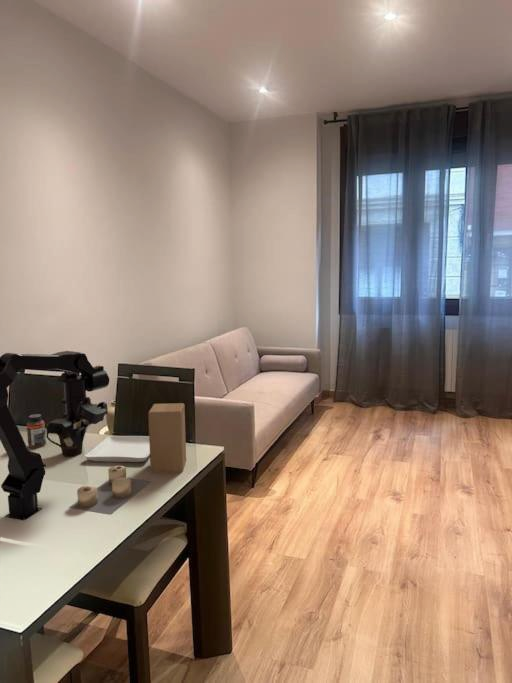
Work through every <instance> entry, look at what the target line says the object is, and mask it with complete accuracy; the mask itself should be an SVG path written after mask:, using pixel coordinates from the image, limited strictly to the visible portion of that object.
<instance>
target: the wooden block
mask: <svg viewBox="0 0 512 683" xmlns="http://www.w3.org/2000/svg"><path fill="white" fill-rule="evenodd" d="M185 407H186V406H185V403H183V402H179V403H178V402H177V403H169V402H168V403H153V404H152V407H151V408H150V409H149V411H148V413H147V414H148V417H147V418H148V436H149V443H150V455H149V461H150V462H149V463H150V464H149V465H150V473H151V474H168V473H170V474H171V473H172V474H173V473H183V472H184V470H185V467H186V462H187V442H186V440H187V439H186V416H185V415H186V412H185V411H186V410H185Z"/></svg>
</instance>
